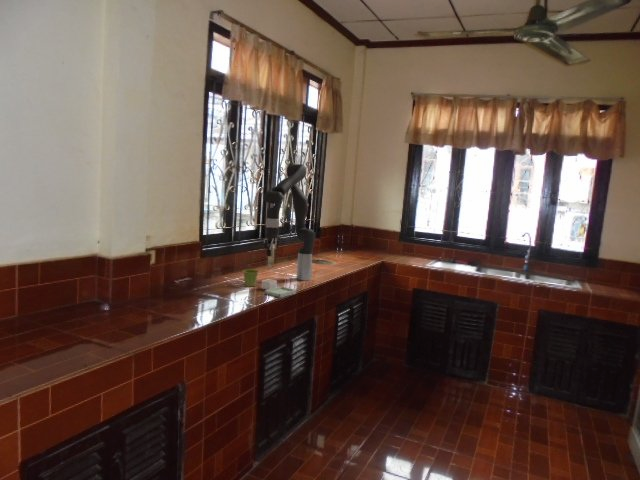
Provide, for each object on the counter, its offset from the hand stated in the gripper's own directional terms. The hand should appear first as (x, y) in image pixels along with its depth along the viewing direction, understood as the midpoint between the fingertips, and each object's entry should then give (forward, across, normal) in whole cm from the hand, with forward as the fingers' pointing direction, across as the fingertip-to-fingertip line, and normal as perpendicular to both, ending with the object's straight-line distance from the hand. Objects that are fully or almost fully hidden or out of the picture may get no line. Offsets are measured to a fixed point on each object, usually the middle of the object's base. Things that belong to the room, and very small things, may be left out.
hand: (271, 255), depth 268 cm
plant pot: (+20, +2, -13) cm, 24 cm away
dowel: (+7, 0, 0) cm, 7 cm away
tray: (+20, +3, +11) cm, 23 cm away
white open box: (+20, 0, 0) cm, 20 cm away
